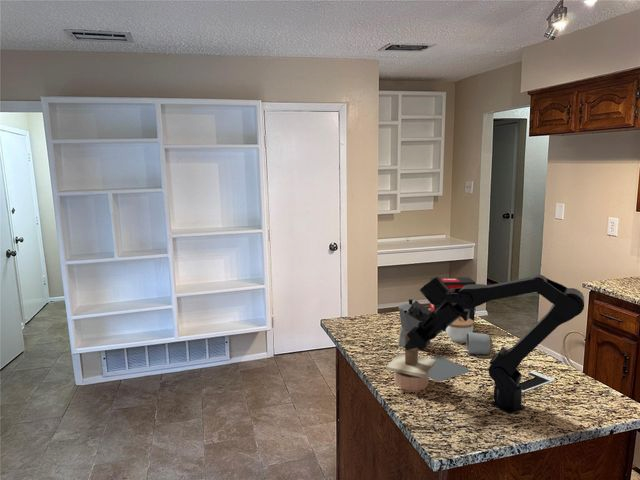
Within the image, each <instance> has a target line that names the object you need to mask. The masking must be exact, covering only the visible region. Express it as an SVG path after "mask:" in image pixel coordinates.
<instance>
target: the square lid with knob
mask: <svg viewBox="0 0 640 480" xmlns="http://www.w3.org/2000/svg"><path fill="white" fill-rule="evenodd" d="M408 332H409V331H408ZM408 332H407V333H408ZM407 333H406V334H405V345H406V344H407V342H408V341H409V340H410V338H409V337H408V336H407ZM404 351H405V353H401V352H399V353H398V354H397V355H396V356H395V357H394V358H393V359H392V360H391V361H390V362H389V363H388V364H387V365H386V366H385V371H389V372H399V373H403V374H408V375H413V376H418V377H423V378H425V377H426V376H427V375H428V373H429V372H430V370H431V369H432V368H433V366H434V365H435V364H436V360H435V359H430V358H431V357H425V356H419V349H418V348H413V349H408V350H406V349H405V348H404Z"/></svg>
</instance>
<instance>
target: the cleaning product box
mask: <svg viewBox="0 0 640 480" xmlns="http://www.w3.org/2000/svg"><path fill="white" fill-rule="evenodd" d="M434 278H435V277H430V281H431V280H433V279H434ZM439 278H440V279H441V281H442V282H443V283H444V284H445V285H446V286H447V288H448V289H449V290H450V289H451V288H463V287H464V286H466V285H469V284H476V281H474V280H473V278H470V277H468V276H467V277H466V276H465V277H439ZM445 302H446V299H445V300H443V301H442V302H441V303H440V304H439V305H437V304H435V305H434V304H433V305H432V304H431V303H430V302H429V310H431V311H434V310H435V309H438V308H439V307H440V306H441V305H443V304H444V303H445ZM475 308H476V307H474V308H471V309H467V310H470V312H469V316H470V317H469V319H471V320H473V321H474V322H475V310H476V309H475ZM473 330H475V326H474V327H473Z"/></svg>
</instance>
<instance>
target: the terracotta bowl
mask: <svg viewBox="0 0 640 480" xmlns="http://www.w3.org/2000/svg"><path fill="white" fill-rule="evenodd" d="M393 372H394V371H393ZM393 375H394V376H393V377H394V379H393V380H394V384H395V386H396V387H398V388H399V389H401V390H405V391H411V392H413V391H422V390H425V389H426V388H427V387H428V386H429V377H428V376H429V373H428V375H427V376H426V377H425V378H423V377H418V376H413V375H408V374H403V373H399V372H394V374H393Z"/></svg>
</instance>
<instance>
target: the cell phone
mask: <svg viewBox="0 0 640 480" xmlns="http://www.w3.org/2000/svg"><path fill="white" fill-rule="evenodd" d="M526 374H528V375H530V376H533V378H530V379H527V380H524V381H520V383H519V386H520V387H521V388H522V394H523V393H526V392H529V391H530V390H531V391H532V390H534V389H536V388H540V387H542V386H544V385H547V384H550V383H552V382H555V381H556V379H554V378H552V377H549V376H546V375H544V374H542V373H540V372H537V371H534V370H531V371H529V372H526Z"/></svg>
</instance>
